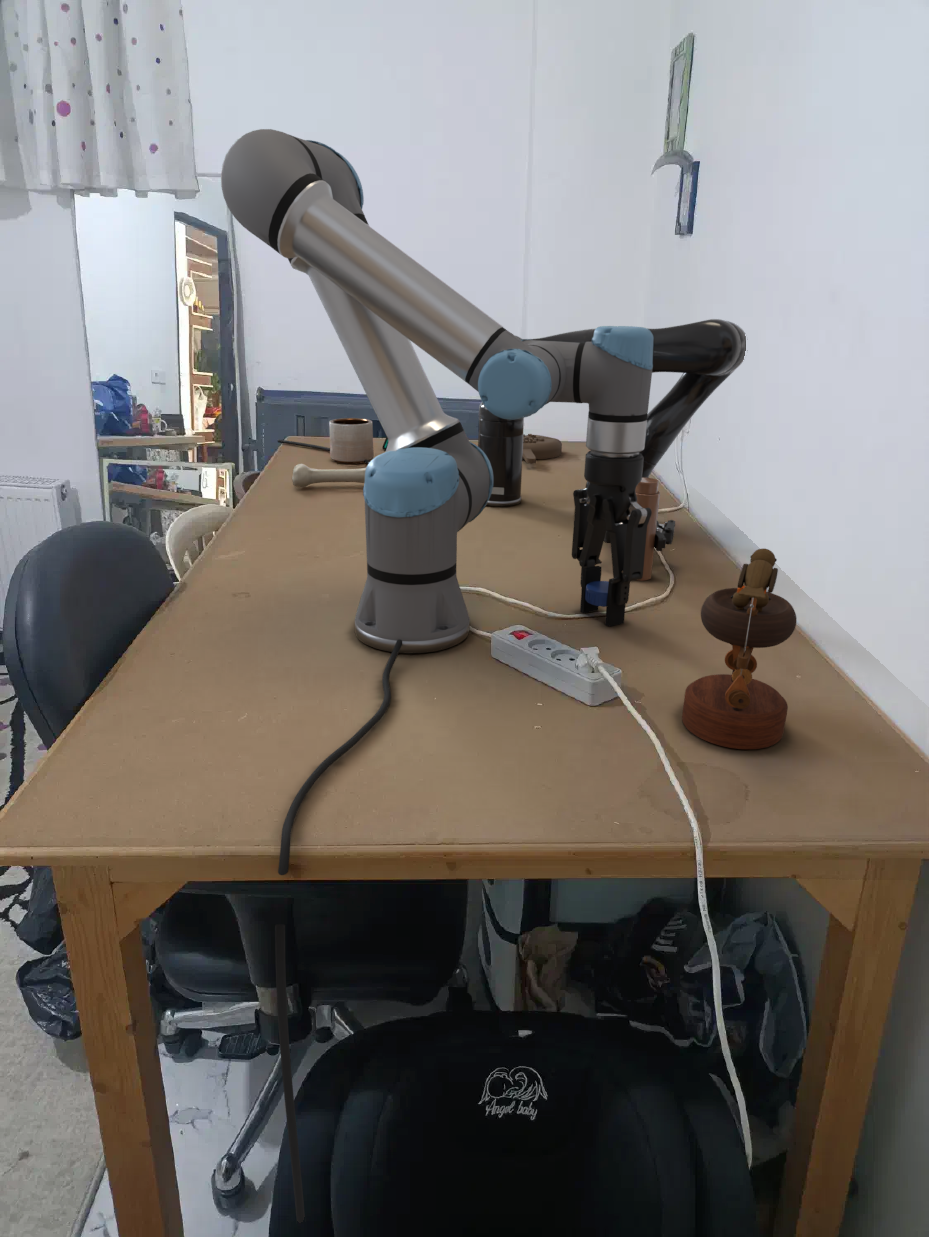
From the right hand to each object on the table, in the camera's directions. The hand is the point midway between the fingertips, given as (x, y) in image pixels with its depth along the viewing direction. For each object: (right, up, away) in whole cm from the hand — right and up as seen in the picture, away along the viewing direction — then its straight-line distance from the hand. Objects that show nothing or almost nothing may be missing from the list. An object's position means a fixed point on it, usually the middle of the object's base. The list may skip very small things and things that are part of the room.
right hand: (644, 544), depth 130 cm
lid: (-8, -7, -13) cm, 17 cm away
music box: (+1, -23, -39) cm, 45 cm away
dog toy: (-56, +18, +57) cm, 82 cm away
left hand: (-8, -11, -12) cm, 18 cm away
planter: (-56, +29, +84) cm, 105 cm away
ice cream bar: (-12, +30, +90) cm, 95 cm away
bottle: (0, -5, +5) cm, 7 cm away
